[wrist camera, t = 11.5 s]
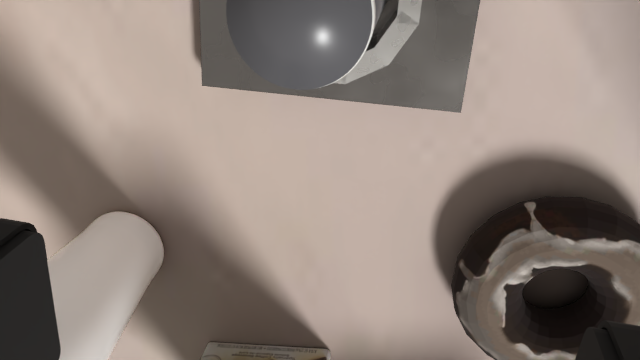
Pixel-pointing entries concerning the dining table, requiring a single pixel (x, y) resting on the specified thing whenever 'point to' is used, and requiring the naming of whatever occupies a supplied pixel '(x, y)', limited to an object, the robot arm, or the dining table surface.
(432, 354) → the dining table surface
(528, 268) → the donut
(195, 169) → the dining table surface
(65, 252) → the drinking glass
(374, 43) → the mount
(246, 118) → the dining table surface
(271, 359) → the coffee box
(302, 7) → the lens
